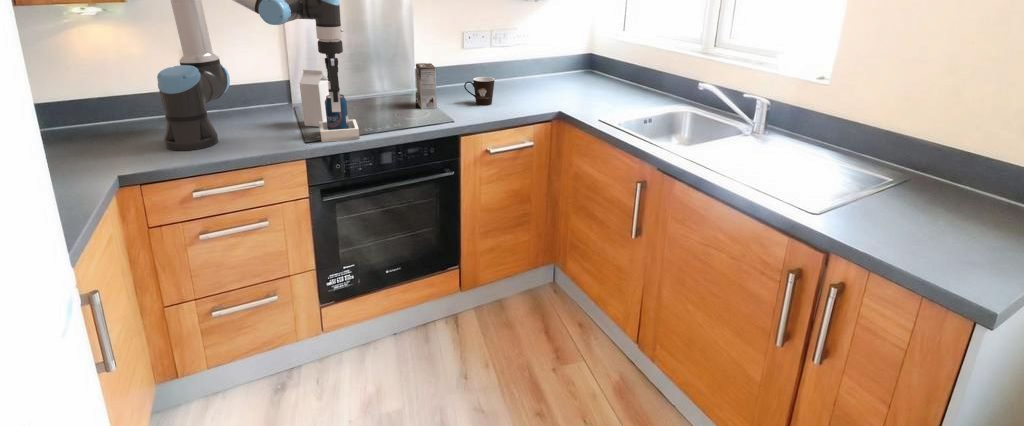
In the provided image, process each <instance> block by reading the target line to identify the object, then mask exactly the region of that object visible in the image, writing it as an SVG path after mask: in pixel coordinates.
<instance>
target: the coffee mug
mask: <svg viewBox="0 0 1024 426" xmlns="http://www.w3.org/2000/svg"><path fill="white" fill-rule="evenodd" d="M472 81H473V82H472ZM472 81H469V80H468V81H466V82H465V83H464V85H463V86H464V90H465V91H466V92H467V93H468V94H470V95H471V96H473V97H474V98H475V104H476V106H481V107H483V106H484V107H486V106H492V104H493V96H494V90H495V89H494V88H495V78H494V77H490V76H478V77H474V78H472ZM467 84H471V85H472V88H473V89H474V93H472V92H471V91H469V90H468V89H467V87H466V85H467Z"/></svg>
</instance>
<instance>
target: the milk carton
mask: <svg viewBox="0 0 1024 426" xmlns="http://www.w3.org/2000/svg"><path fill="white" fill-rule="evenodd" d="M302 72H303V73H302V75H301V78H300V81H299V84H298V85H299V89H300V97H301V98H300V99H301V105H302V106H301V107H302V113H303V122H304V126H306V127H315V128H316V127H318V128H320V126H319V122H324V121H327V118H326V109H325V100H326V96H327V95H329V91H328V89H329V88H328V82H329V81H328V77H327V76H325V75H324V73H323V72H324V71H323V70H316V69H302Z"/></svg>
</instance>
